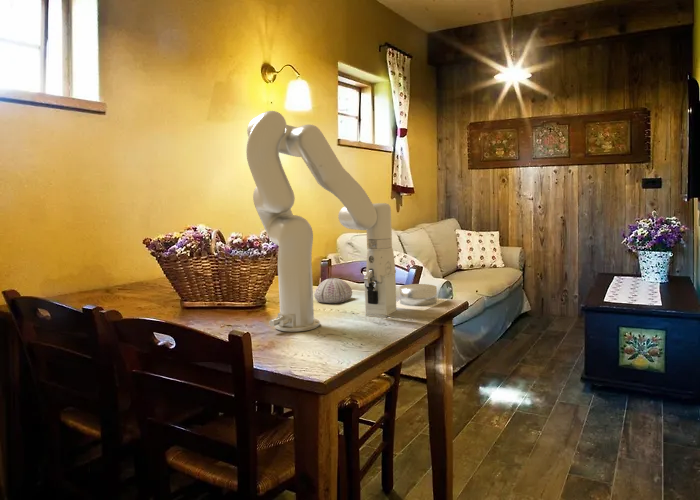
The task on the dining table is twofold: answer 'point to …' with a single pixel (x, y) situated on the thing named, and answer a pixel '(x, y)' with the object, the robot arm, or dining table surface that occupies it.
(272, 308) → the dining table surface
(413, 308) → the base board
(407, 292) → the round metal tin
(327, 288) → the sea urchin shell
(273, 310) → the dining table surface
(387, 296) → the supplement box
